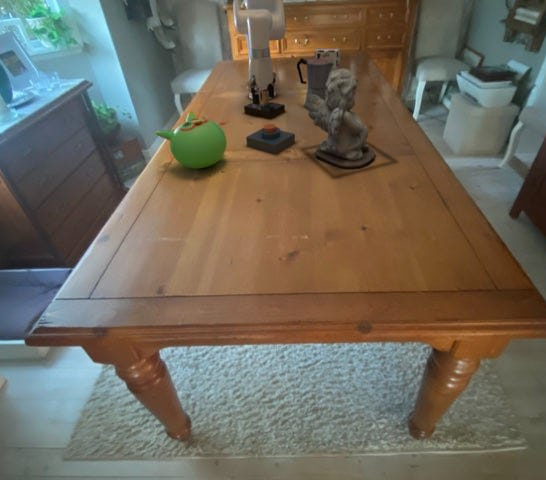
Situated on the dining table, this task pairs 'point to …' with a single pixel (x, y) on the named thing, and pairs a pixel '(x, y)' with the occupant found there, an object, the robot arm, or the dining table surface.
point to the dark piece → (270, 140)
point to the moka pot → (315, 75)
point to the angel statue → (340, 123)
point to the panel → (265, 110)
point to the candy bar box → (330, 57)
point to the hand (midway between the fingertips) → (263, 100)
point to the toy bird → (196, 142)
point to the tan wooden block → (263, 98)
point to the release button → (269, 128)
